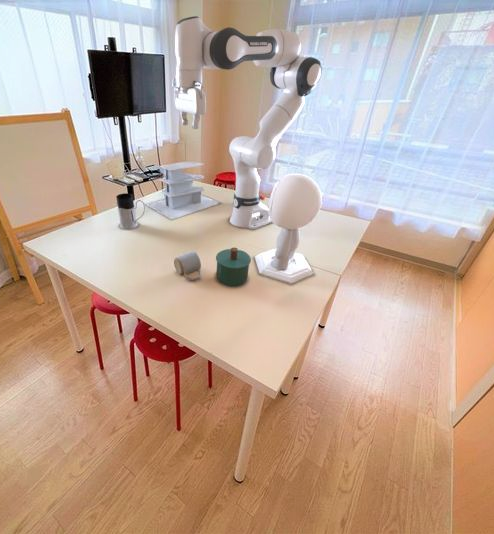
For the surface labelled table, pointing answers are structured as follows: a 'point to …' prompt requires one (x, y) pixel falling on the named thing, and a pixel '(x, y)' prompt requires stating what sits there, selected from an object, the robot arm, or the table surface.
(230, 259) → the lid
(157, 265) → the table surface
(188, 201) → the file organizer
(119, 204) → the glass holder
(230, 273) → the tin
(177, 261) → the ceramic mug
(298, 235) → the globe table lamp
